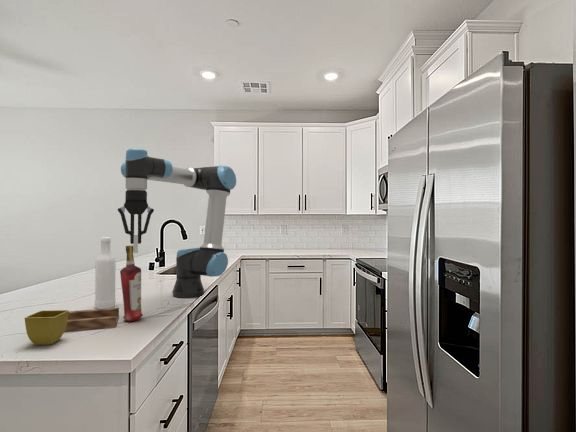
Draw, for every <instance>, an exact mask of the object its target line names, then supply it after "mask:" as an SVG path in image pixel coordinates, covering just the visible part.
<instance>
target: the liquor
mask: <svg viewBox="0 0 576 432" xmlns="http://www.w3.org/2000/svg"><path fill="white" fill-rule="evenodd" d="M125 254H126V265H125V267H123V268H122V269H121V270H119V274H120V285H121V291H122V302H123V313H124V314H123V317H122V318H123V319H124V320H125V321H126V322H137V321H139V320H141V319H142V317H143V316H144V314H143V312H142V268H141V267H139V266H137V265H135V264H136V263H135V257H134V244H130V245H125Z"/></svg>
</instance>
